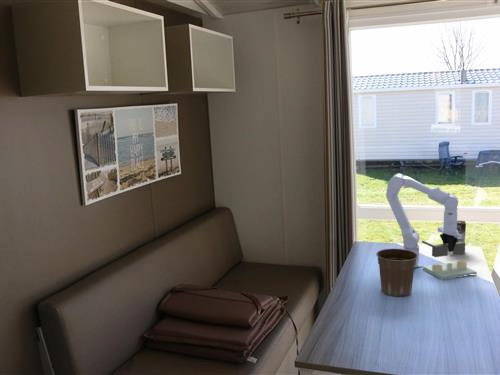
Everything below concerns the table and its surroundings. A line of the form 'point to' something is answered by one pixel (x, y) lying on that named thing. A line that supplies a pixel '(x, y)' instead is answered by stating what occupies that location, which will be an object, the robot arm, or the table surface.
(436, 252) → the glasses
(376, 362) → the table surface
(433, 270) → the stand
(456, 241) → the robot arm
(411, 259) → the plant pot
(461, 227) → the coffee box
